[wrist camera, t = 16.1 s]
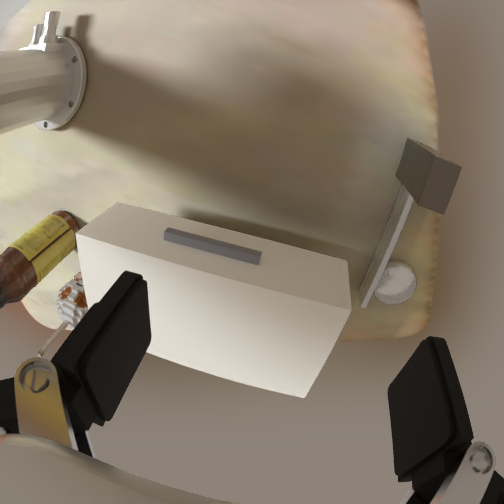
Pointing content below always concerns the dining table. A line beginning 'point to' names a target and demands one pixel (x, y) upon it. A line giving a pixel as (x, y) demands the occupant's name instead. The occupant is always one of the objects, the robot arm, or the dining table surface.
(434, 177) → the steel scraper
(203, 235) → the cabinet
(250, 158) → the dining table surface
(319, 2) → the dining table surface
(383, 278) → the steel puck
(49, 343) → the decorative ornament
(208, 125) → the dining table surface
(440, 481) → the robot arm
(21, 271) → the sauce bottle
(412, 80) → the dining table surface
